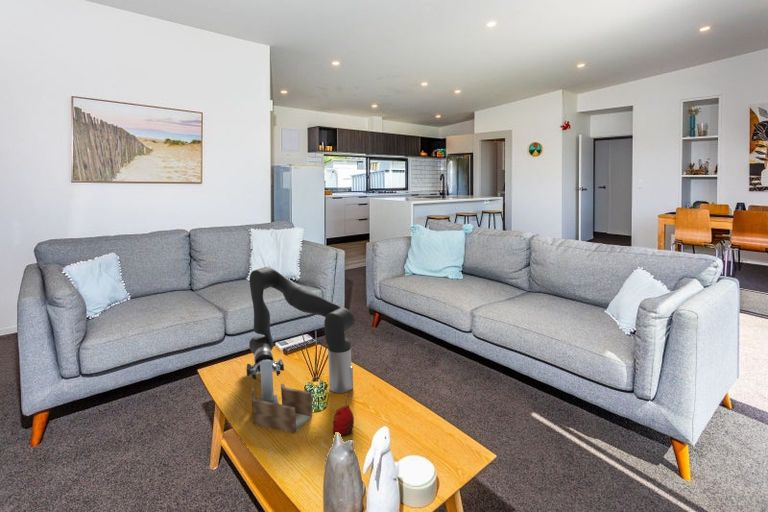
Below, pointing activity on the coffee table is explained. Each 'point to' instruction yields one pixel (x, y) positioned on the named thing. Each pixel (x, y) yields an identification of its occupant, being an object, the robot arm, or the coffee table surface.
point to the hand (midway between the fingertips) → (266, 375)
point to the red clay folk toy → (343, 419)
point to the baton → (267, 381)
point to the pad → (274, 399)
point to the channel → (283, 410)
